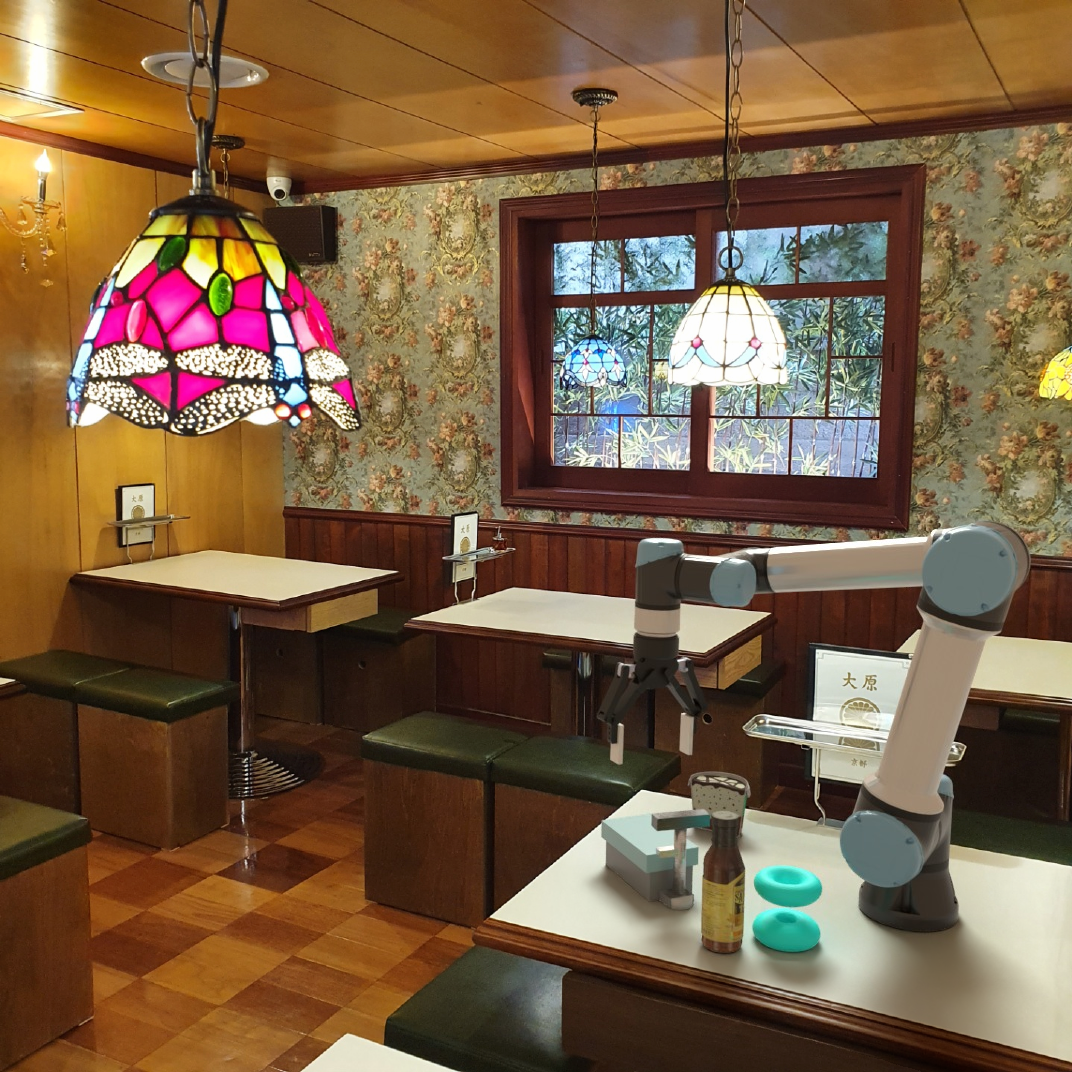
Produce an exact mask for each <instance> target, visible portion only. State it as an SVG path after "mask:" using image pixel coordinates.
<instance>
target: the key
mask: <svg viewBox="0 0 1072 1072" xmlns="http://www.w3.org/2000/svg"><path fill="white" fill-rule="evenodd" d="M651 814H652V820H651V826H652V827H653V828H654V829H655V830H656V831H665V830H674V846H665V847H656V855H657V856H658V857H659V858H669V857H673V893H674V894H678V895H682V894H685V879H686V840H687V839H688V838H687V833H688V830H687V829H699V828H698V827H709V826H710V814H709V813H708V812H707V811H706V810H704V809H698V810H693V809H689V810H688V809H687V810H680V811H679V810H677V811H668V812H667V811H665V812H653V813H651Z"/></svg>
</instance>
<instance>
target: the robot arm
mask: <svg viewBox="0 0 1072 1072" xmlns="http://www.w3.org/2000/svg"><path fill="white" fill-rule="evenodd" d="M636 553H637V554H636V563H635V565H634V567H635V600H634V619H633V620H634V621H633V629H634V630H635V632H634V633H633V641H632V643H633V644H632V652H633V653H632V654H633V661H632V664H629V663H627V664H626V663H622V662H620V661H619V662H617V663H616V664H615V670H614V671H615V672H614V677H613V679H612V680H611V683H610V684H609V688H608V690H607V692H606V694H605V696H604V698H603V700H602V702H601V704H600V707H599V709H598V711H597V713H596V718H597V719H598V720H600V721H601V722H604V723H606V726H607V728H606V739H607V742H608V743H609V744H610V751H609V752H610V755H609V757H610V759H609V760H610V761H612V762H613V763H615V764H616V765H617V766H620V765H623V759H624V758H623V757H624V756H623V755H624V733H625V732H624V729H625V725H624V724H622V723H621V722H622V721H623V719H624V718H625V716H627V713H628V712H629V711H630V709H631V708H632V706H633V705H634V704H635V703H636V701H637V699H639V697H640V696H641V695H642V694H644V693H645V692H646V690H655V689H658V688H659V689H666V688H668V690H669V691H670V693H671V694H672V695H673V697H674V698H675V700H677V702H678V704H679V705H680V706H681V707H682V709H683V710H684V711H685V712H683V713H682V712H681V714H680V729H679V730H680V733H679V751H680V752H682V753H683V754H685V755H687V756H692V755H693V742H694V741H693V740H694V735H695V734H697V729H698V728H697V726H698V725H697V724H698V718H700V717H701V716H702V713H703V712H706V711H708V710H709V706H708V703H707V701H706V698H705V696H704V693H703V691H702V688H701V685H700V683H699V680H698V678H697V676H696V673H695V664H694V663H695V662H694V660H693V659H691V658H688V657H686V656H681V657H680V658H679V659H678V656H679V652H680V651H679V648H680V636H679V634H678V632H680V630H681V605H682V604H681V603H682V601H688V602H689V601H690V602H695V603H704V604H710V605H718V606H722V607H726V608H727V607H737V608H739V607H740V608H743V607H746V606H748V605H749V604H750V602H751V600H752V599H753V598H754V595H758V594H759V595H760V594H761V595H762V594H774V593H775V594H776V593H793V592H814V591H815V592H816V591H819V592H821V591H839V590H842V591H843V590H864V589H887V588H888V589H889V588H890V589H891V588H906V587H907V588H909V587H910V588H911V587H921V590H920V594H919V596H918V599H917V604H916V609H917V611H918V612H919V614H920V616H921V617H922V620H923V622H922V625H921V629H920V633H919V635H918V637H917V642H916V645H915V649H914V652H913V655H912V657H911V661H910V664H909V667H908V671H907V674H906V677H905V681H904V683H903V688H902V690H901V693H900V697H899V699H898V703H897V706H896V709H895V714H894V717H893V720H892V723H891V726H890V728H889V729H890V730H889V732H888V735H887V739H886V742H885V744H884V745H885V746H884V749H883V752H882V756H881V757H880V761H879V765H878V768H877V770H875V771H872V772H870V773H869V774H866V775H865V776H864V778H863V780H862V783H861V786H860V789H859V793H858V796H857V800H856V803H855V806H854V809H853V811H852V814H851V815H850V816H849V817H848V818H847V819H845V822H844V823H843V824H842V825H843V826H842V828H841V831H840V835H839V847H840V851H841V854H842V856H843V859H844V860H845V862H846V863H847V866H848V867H849V868H850V870H852V872H853V873H855V875H856V876H858V877H859V878H860V879H862V880H863V882H862V883H861V885H860V887H859V892H858V902H857V904H858V907H859V909H860V911H861V912H862V913H863V914H865V915H866V916H867V917H868V918H869V919H871V920H874V921H875V922H877V923H880V924H883V925H885V926H888V927H891V928H896V929H899V930H905V931H911V932H924V933H925V932H939V931H944V930H947V929H949V928H952V927H953V926H954V925H956V923H957V922H958V920H959V910H960V909H959V908H960V907H959V906H960V905H959V901H958V897H957V896H956V891H955V887H954V883H953V879H952V876H951V873H950V854H951V853H950V852H951V851H950V850H951V849H950V848H951V831H952V830H951V829H952V814H953V813H952V812H953V800H954V797H955V796H954V791H953V789H954V788H953V786H954V785H953V782H952V779H951V778H950V777H949V776H947V775H946V774H944V771H945V768H946V765H947V762H948V759H949V756H950V752H951V751H952V750H951V749H952V746H953V744H954V740H955V738H956V734H957V731H958V729H959V725H960V721H961V719H962V716H963V713H964V709H965V707H966V704H967V700H968V697H969V695H970V691H971V687H972V684H973V681H974V678H975V676H976V673H977V670H978V666H979V663H980V659H981V656H982V653H983V652H984V647H985V645H986V641H987V640H988V639H989V638H992V637H993V636H996V635H999V634H1001V632H1002V630H1003V628H1004V623H1005V621H1006V618H1007V616H1008V613H1009V609H1010V606H1011V603H1012V600H1013V597H1014V594H1015V592H1016V591H1017V590H1019V589H1020V588H1021V586H1022V585H1023V584H1024V583H1025V581H1026V579H1027V577H1028V576H1029V572H1030V569H1031V562H1032V561H1031V560H1032V559H1031V553H1030V549H1029V546H1028V544H1027V542H1026V540H1025V539H1024V538H1023V537H1022V535H1021V534H1020V533H1019V532H1018V531H1017V530H1015V529H1014V528H1012V527H1011V526H1010V525H1007V524H1005V523H1003V522H999V521H994V520H981V521H974V522H972V523H969V524H965V525H959V526H956V527H949V528H939V529H933V530H932V531H931V532H930V534H928V535H927V536H918V537H916V536H915V537H905V538H904V537H903V538H891V539H890V538H889V539H888V538H887V539H878V540H859V541H850V542H849V541H848V542H835V543H834V542H833V543H821V544H819V543H818V544H806V545H793V546H791V545H790V546H778V547H777V546H776V547H771V548H769V547H764V548H760V547H747V548H746V547H745V548H742V549H740V550H737V551H736V550H735V551H733V552H728V553H723V554H720V555H714V556H713V555H712V556H711V555H710V556H709V555H698V554H691V553H690V554H689V553H685V550H684V543H683V542H682V541H681V540H680V539H679V540H678V539H674V538H665V537H663V538H661V537H659V538H658V537H656V538H655V537H653V538H645V539H641V540H640V542H638V544H637V551H636ZM678 671H679V672H680V674H681V677H682V680H683V682H684V684H685V686H686V689H687V691H688V694H689V696H688V694H687V693H686V691H685V690H684V689H683V687H682V686H681V682H679V680H678V679H677V678H676V676H675V674H676V673H677V672H678ZM632 674H633V676H632ZM631 677H632V678H631ZM629 678H631V679H630V681H629ZM627 684H628V687H627V688H626V686H627Z"/></svg>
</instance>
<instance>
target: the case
mask: <svg viewBox="0 0 1072 1072" xmlns="http://www.w3.org/2000/svg"><path fill="white" fill-rule="evenodd" d="M605 866H607V867H608V868H609V869H610V870H611V871H613V872H614V873H615V874H616V875H617V874H618V875H617V876H618V877H619V878H620V879H623V881H624V882H626V883H627V884H628V885H629V886H630V887H632V888H633V890H635V891H637V892H638V893H639V894H640V895H641V896H642V897H643V898H645V900H646V901H648V902H655V901H660V902H661V903H662V904H663V905H665V907H668V909H672V910H675V911H683V910H685V911H686V910H689V909H690V908H692V907H693V905H694V904H695V902H694V901H695V898H694V897H695V894H693V877H694V876H693V874H694V873H693V872H694V865H693V866H687V867H686V879H685V894H682V895H678V894H674V893H673V869H669V870H663V871H657V872H651V873H645V872H644V871H643V870H642V869H641V868H639V867H638V866H637V865H636V864H634V863H633V862H632V861H631V860H629V859H628V858H627V857H626V856H624V855H623V854H622V853H621V852H619V851H618V850H617V849H616V848H614V847H613V846H612V845H611V844H609V843H608V842H607V841H606V840H605Z"/></svg>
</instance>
